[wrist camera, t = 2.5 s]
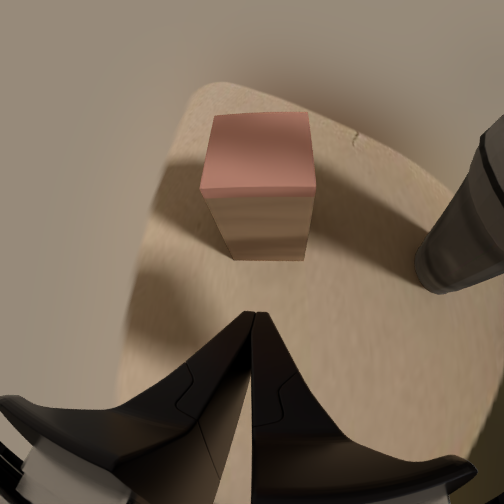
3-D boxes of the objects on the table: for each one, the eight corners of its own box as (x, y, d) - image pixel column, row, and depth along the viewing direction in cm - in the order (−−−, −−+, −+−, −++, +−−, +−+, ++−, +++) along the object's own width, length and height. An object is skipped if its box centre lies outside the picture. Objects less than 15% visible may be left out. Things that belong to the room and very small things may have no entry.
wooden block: (303, 260, 19) (316, 186, 11) (233, 260, 20) (199, 188, 12) (301, 200, 21) (307, 112, 13) (238, 201, 22) (214, 115, 14)
